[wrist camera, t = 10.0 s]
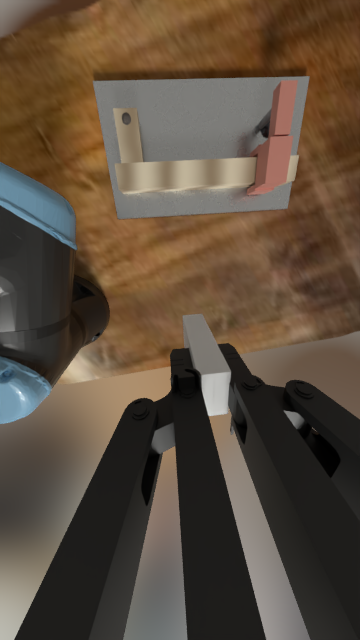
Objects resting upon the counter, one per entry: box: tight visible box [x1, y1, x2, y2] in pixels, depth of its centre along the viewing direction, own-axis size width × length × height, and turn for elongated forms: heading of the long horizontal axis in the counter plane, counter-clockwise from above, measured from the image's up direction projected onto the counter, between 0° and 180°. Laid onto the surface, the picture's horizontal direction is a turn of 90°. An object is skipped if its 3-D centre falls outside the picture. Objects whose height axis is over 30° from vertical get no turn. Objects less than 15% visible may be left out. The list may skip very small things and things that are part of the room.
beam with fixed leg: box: [113, 108, 299, 194], centre depth 27 cm, size 27×8×3 cm, turn 93°
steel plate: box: [93, 76, 309, 219], centre depth 28 cm, size 30×16×1 cm, turn 93°
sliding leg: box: [247, 80, 298, 195], centre depth 26 cm, size 3×10×6 cm, turn 3°
